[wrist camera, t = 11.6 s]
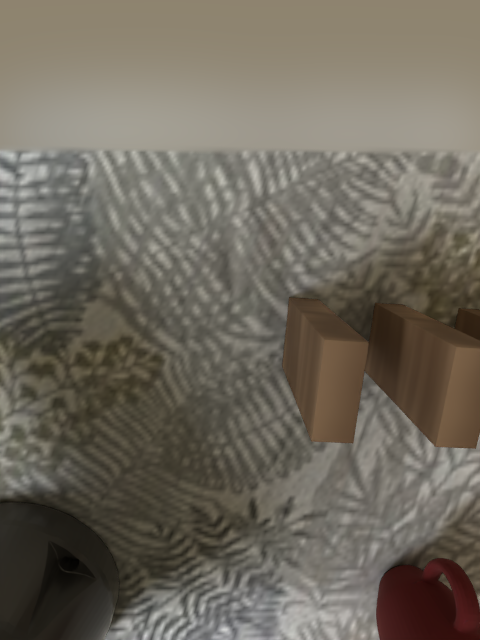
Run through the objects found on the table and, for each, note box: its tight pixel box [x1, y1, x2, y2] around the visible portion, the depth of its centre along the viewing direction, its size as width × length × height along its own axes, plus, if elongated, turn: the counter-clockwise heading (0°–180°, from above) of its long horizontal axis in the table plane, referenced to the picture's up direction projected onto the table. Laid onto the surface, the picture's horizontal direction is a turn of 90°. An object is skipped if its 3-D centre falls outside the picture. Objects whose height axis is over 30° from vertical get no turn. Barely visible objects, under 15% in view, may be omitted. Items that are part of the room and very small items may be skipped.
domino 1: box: [282, 297, 369, 443], centre depth 23 cm, size 2×5×10 cm, turn 175°
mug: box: [376, 558, 480, 640], centre depth 28 cm, size 11×8×10 cm
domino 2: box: [365, 303, 480, 449], centre depth 23 cm, size 2×5×10 cm, turn 176°
